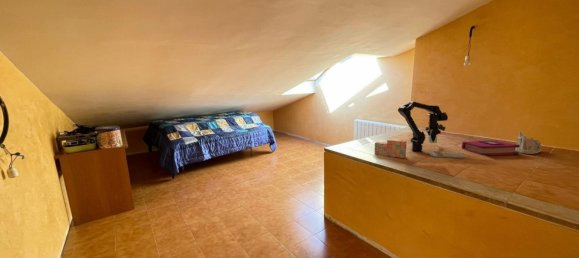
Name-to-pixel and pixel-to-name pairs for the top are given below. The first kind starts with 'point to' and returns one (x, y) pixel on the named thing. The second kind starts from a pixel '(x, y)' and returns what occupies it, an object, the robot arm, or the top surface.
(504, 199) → the top surface
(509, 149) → the book
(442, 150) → the maple block
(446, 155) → the blueprint board
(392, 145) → the stack of blocks
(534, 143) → the ceramic cottage
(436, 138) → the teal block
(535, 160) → the top surface
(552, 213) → the top surface
